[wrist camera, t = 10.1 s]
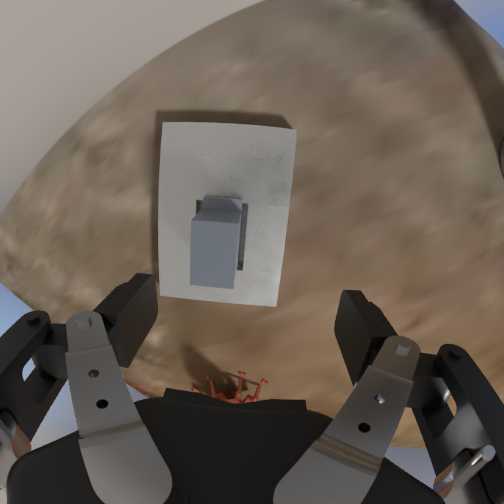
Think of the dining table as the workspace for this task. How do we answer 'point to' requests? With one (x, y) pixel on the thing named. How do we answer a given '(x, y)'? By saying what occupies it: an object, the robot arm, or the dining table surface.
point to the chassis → (228, 186)
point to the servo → (216, 242)
